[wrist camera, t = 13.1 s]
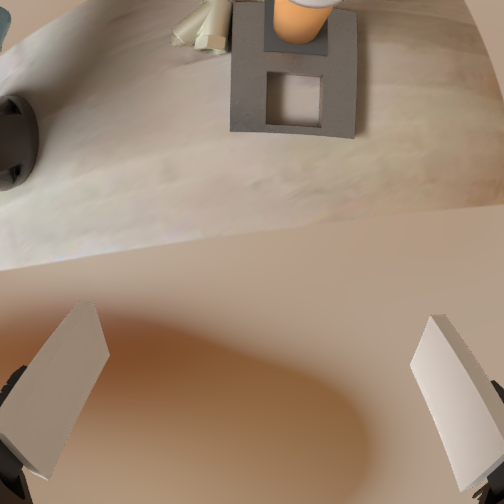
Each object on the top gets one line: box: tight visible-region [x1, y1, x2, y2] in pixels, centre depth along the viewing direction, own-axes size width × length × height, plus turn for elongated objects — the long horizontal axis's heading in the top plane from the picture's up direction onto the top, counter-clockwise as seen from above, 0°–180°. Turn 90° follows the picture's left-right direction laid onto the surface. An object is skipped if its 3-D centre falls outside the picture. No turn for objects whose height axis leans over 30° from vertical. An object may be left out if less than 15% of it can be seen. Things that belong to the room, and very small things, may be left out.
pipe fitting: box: [170, 0, 236, 54], centre depth 28 cm, size 8×4×7 cm
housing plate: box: [230, 2, 357, 139], centre depth 30 cm, size 14×16×2 cm
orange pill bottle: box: [273, 0, 343, 45], centre depth 20 cm, size 6×6×14 cm
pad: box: [264, 0, 328, 56], centre depth 27 cm, size 7×7×1 cm
